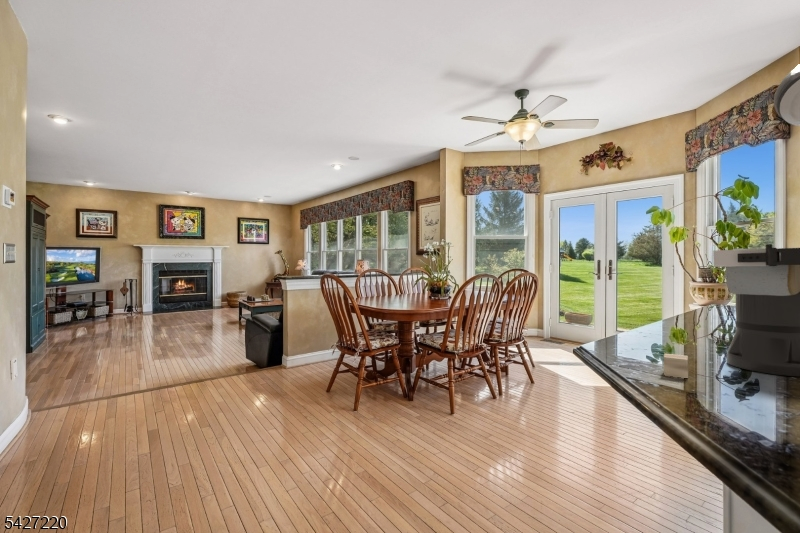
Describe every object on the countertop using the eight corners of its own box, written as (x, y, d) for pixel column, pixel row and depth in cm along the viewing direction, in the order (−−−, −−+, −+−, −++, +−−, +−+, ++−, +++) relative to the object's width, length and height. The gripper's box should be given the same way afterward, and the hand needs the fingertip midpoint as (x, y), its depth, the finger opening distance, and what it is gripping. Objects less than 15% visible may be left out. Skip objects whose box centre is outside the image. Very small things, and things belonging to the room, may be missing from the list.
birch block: (664, 371, 81) (664, 353, 81) (688, 374, 79) (687, 355, 79) (663, 376, 78) (663, 356, 78) (688, 379, 76) (687, 359, 76)
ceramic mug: (795, 297, 55) (794, 245, 55) (724, 294, 62) (724, 248, 62) (810, 295, 61) (810, 248, 61) (744, 293, 68) (744, 250, 68)
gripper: (957, 286, 40) (700, 281, 60) (961, 281, 51) (743, 279, 71) (955, 216, 40) (699, 234, 60) (960, 227, 52) (742, 239, 71)
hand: (723, 258), depth 65 cm, fingers closed on ceramic mug, 7 cm apart
